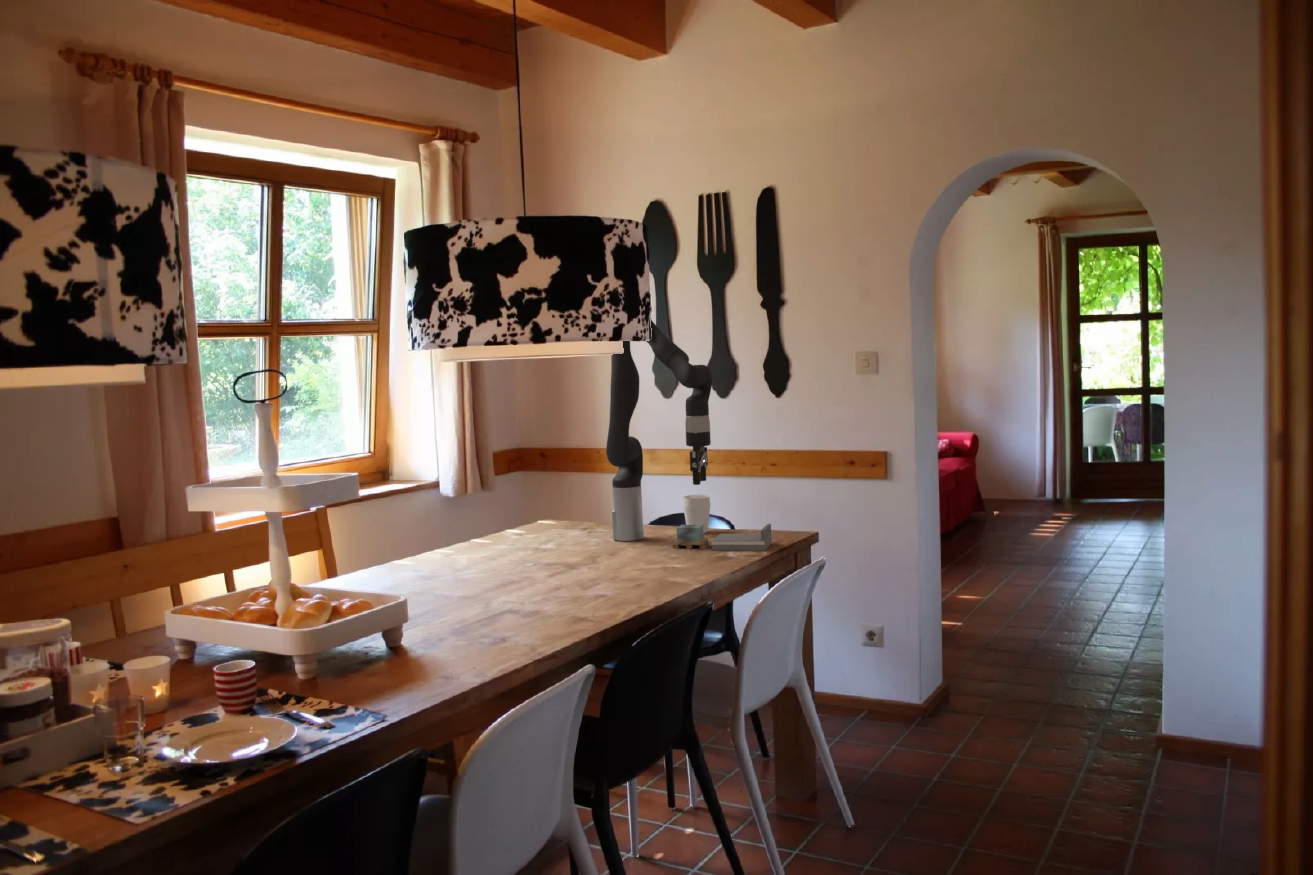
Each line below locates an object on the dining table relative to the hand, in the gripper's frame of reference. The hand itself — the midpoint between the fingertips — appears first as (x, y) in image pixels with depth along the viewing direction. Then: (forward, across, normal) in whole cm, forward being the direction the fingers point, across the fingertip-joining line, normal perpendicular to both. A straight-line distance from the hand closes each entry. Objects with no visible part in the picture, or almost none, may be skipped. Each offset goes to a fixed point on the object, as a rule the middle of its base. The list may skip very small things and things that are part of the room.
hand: (699, 482), depth 325 cm
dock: (+19, +3, +13) cm, 23 cm away
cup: (+20, -23, -6) cm, 31 cm away
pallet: (+20, +3, -3) cm, 20 cm away
